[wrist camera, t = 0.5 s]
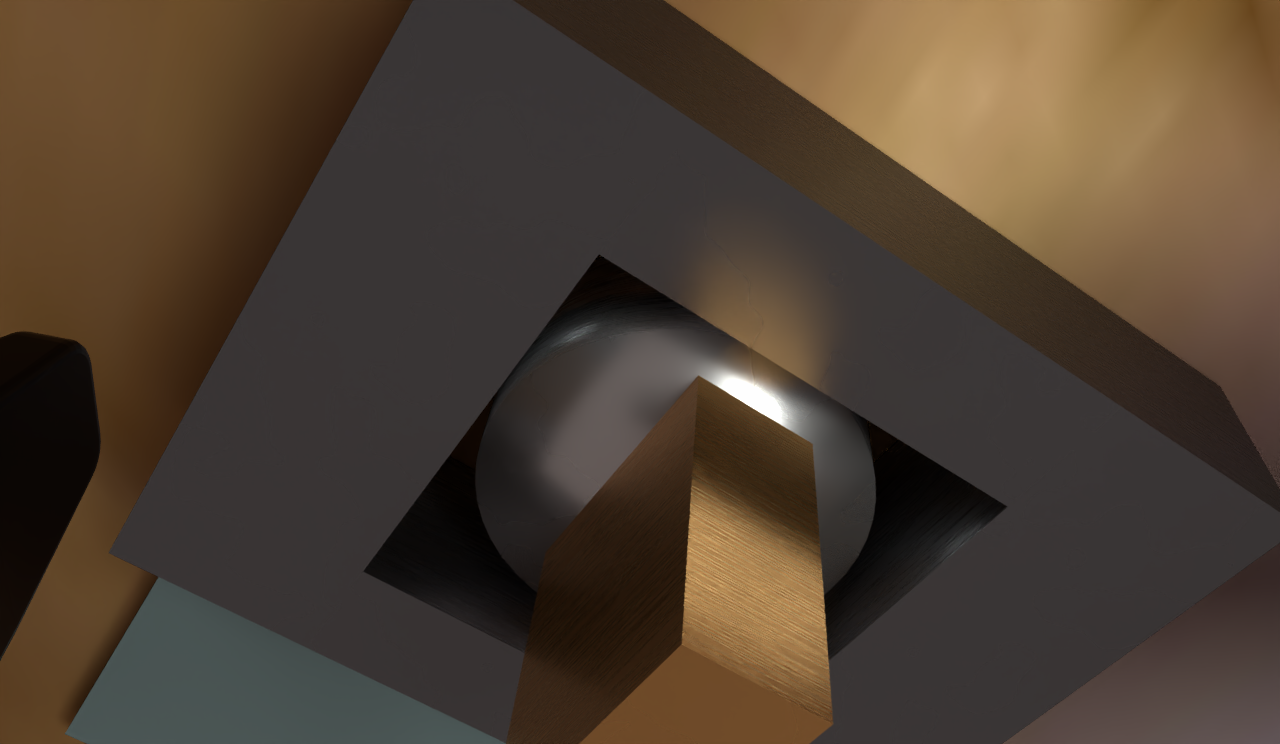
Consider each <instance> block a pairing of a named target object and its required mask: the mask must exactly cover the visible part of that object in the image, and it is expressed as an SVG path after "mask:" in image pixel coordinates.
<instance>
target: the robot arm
mask: <svg viewBox="0 0 1280 744" xmlns="http://www.w3.org/2000/svg"><path fill="white" fill-rule="evenodd" d="M100 443H101V440H100V429H99V421H98V413H97V405H96V398H95V390H94V382H93V374H92V366H91V362H90V358H89V355H88V353H87V351H86V349H85V348H84V347H83V346H82V345H81V344H80V343H78V342H77V341H75V340H71V339H65V338H60V337H55V336H49V335H44V334H39V333H33V332H15V333H12V334H9V335H6V336H4V337H1V338H0V660H1V658H2V657H3V655H4V653H5V651H6V649H7V647H8V645H9V643H10V641H11V640H12V638H13V636H14V634H15V632H16V630H17V628H18V626H19V624H20V622H21V620H22V618H23V616H24V614H25V612H26V610H27V608H28V606H29V604H30V602H31V600H32V598H33V596H34V594H35V592H36V590H37V588H38V586H39V584H40V582H41V579H42V577H43V575H44V573H45V571H46V569H47V567H48V565H49V563H50V561H51V559H52V557H53V555H54V553H55V551H56V549H57V547H58V545H59V543H60V541H61V539H62V537H63V535H64V533H65V531H66V529H67V527H68V525H69V523H70V521H71V519H72V517H73V514H74V512H75V510H76V508H77V506H78V504H79V502H80V500H81V498H82V496H83V494H84V492H85V490H86V488H87V486H88V484H89V482H90V480H91V478H92V476H93V473H94V471H95V469H96V465H97V462H98V458H99V453H100Z"/></svg>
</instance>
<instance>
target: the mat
mask: <svg viewBox="0 0 1280 744" xmlns="http://www.w3.org/2000/svg"><path fill="white" fill-rule="evenodd" d="M65 734H66V735H68V736H71V737H73V738H75V739H78V740H80V741H82V742H85V743H87V744H506V743H504V742H502V741H500V740H498V739H496V738H494V737H492V736H490V735H488V734H486V733H483V732H481V731H479V730H477V729H475V728H473V727H471V726H469V725H467V724H465V723H463V722H460V721H458V720H456V719H454V718H452V717H450V716H448V715H446V714H444V713H442V712H440V711H438V710H435V709H433V708H431V707H429V706H427V705H425V704H423V703H421V702H419V701H417V700H415V699H412V698H410V697H408V696H406V695H404V694H402V693H400V692H398V691H396V690H394V689H392V688H390V687H387V686H385V685H383V684H381V683H379V682H377V681H375V680H373V679H371V678H369V677H367V676H364V675H362V674H360V673H358V672H356V671H354V670H352V669H350V668H348V667H346V666H344V665H342V664H339V663H337V662H335V661H333V660H331V659H329V658H327V657H325V656H323V655H321V654H319V653H316V652H314V651H312V650H310V649H308V648H306V647H304V646H302V645H300V644H298V643H296V642H293V641H291V640H289V639H287V638H285V637H283V636H281V635H279V634H277V633H275V632H273V631H271V630H268V629H266V628H264V627H262V626H260V625H258V624H256V623H254V622H252V621H250V620H248V619H245V618H243V617H241V616H239V615H237V614H235V613H233V612H231V611H229V610H227V609H225V608H223V607H220V606H218V605H216V604H214V603H212V602H210V601H208V600H206V599H204V598H202V597H200V596H197V595H195V594H193V593H191V592H189V591H187V590H185V589H183V588H181V587H179V586H177V585H175V584H172V583H170V582H168V581H166V580H164V579H162V578H160V577H158V579H157V580H156V582H155V584H154V585H153V587H152V589H151V591H150V592H149V594H148V596H147V597H146V599H145V601H144V602H143V604H142V606H141V607H140V609H139V611H138V612H137V614H136V616H135V617H134V619H133V621H132V622H131V624H130V626H129V627H128V629H127V631H126V632H125V634H124V636H123V637H122V639H121V641H120V642H119V644H118V646H117V647H116V649H115V651H114V652H113V654H112V656H111V658H110V659H109V661H108V663H107V664H106V666H105V668H104V669H103V671H102V673H101V674H100V676H99V678H98V679H97V681H96V683H95V684H94V686H93V688H92V689H91V691H90V693H89V694H88V696H87V698H86V699H85V701H84V703H83V704H82V706H81V708H80V709H79V711H78V713H77V714H76V716H75V718H74V720H73V721H72V723H71V725H70V726H69V728H68V730H67V731H66V733H65Z"/></svg>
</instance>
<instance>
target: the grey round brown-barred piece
mask: <svg viewBox="0 0 1280 744" xmlns="http://www.w3.org/2000/svg"><path fill="white" fill-rule="evenodd" d="M475 485H476V495H477V502H478V506H479V510H480V513H481V517H482V521H483V523H484V525H485V527H486V530H487V532H488V534H489V536H490V539H491V540H492V542H493V544H494V545H495V547H496V548H497V550H498V552H499V553H500V555H501V556H502V558H503V559H504V560H505V561H506V562H507V564H508V565H509V566H510V567H511V568H512V570H513V571H514V572H515V573H516V574H517V575H518V576H519V577H520V578H521V579H522V580H523V581H524V582H525V583H526V584H527V585H529V586H530V587H531V588H532V589H533V590H534V591H536V592H537V596H536V601H535V605H534V610H533V615H532V620H531V625H530V630H529V634H528V639H527V644H526V649H525V654H524V659H523V663H522V668H521V673H520V678H519V683H518V688H517V692H516V697H515V702H514V707H513V712H512V716H511V721H510V726H509V731H508V736H507V741H506V744H810V743H811V742H812V741H813V740H815V739H816V738H817V737H818V736H819V735H821V734H822V733H823V732H824V731H826V730H827V729H828V728H829V727H830V726H832V725H833V715H832V702H831V688H830V674H829V661H828V647H827V633H826V620H825V606H824V595H825V594H826V593H827V592H828V591H830V590H831V589H832V588H833V587H834V586H835V585H836V584H837V583H838V582H839V581H840V579H841V578H842V577H843V576H844V575H845V574H846V573H847V572H848V570H849V569H850V567H851V566H852V565H853V563H854V562H855V560H856V559H857V558H858V556H859V554H860V552H861V550H862V548H863V546H864V544H865V542H866V540H867V538H868V534H869V531H870V528H871V525H872V522H873V517H874V510H875V503H876V484H875V473H874V466H873V459H872V451H871V444H870V437H869V430H868V423H867V420H866V419H865V418H863V417H862V416H860V415H858V414H857V413H855V412H854V411H852V410H850V409H849V408H847V407H845V406H844V405H842V404H841V403H839V402H837V401H836V400H834V399H832V398H831V397H829V396H828V395H826V394H824V393H823V392H821V391H819V390H818V389H816V388H815V387H813V386H811V385H810V384H808V383H807V382H805V381H803V380H802V379H800V378H798V377H797V376H795V375H794V374H792V373H790V372H789V371H787V370H785V369H784V368H782V367H781V366H779V365H777V364H776V363H774V362H772V361H771V360H769V359H768V358H766V357H764V356H763V355H761V354H760V353H758V352H756V351H755V350H753V349H751V348H750V347H748V346H747V345H745V344H743V343H742V342H740V341H738V340H737V339H735V338H734V337H732V336H730V335H729V334H727V333H725V332H724V331H722V330H721V329H719V328H717V327H716V326H714V325H713V324H711V323H709V322H708V321H706V320H704V319H703V318H701V317H700V316H698V315H696V314H695V313H693V312H691V311H690V310H688V309H687V308H685V307H683V306H682V305H680V304H678V303H677V302H675V301H674V300H672V299H670V298H669V297H667V296H665V295H664V294H662V293H661V292H659V291H657V290H656V289H654V288H653V287H651V286H649V285H648V284H646V283H644V282H643V281H641V280H640V279H638V278H636V277H635V276H633V275H631V274H630V273H628V272H627V271H625V270H623V269H622V268H620V267H618V266H617V265H615V264H614V263H612V262H610V261H609V260H607V259H606V258H603V259H600V260H597V261H595V262H593V263H592V264H591V265H590V267H589V268H588V270H587V271H586V272H585V274H584V275H583V276H582V278H581V279H580V280H579V282H578V283H577V284H576V286H575V287H574V288H573V290H572V291H571V292H570V294H569V295H568V296H567V298H566V299H565V300H564V302H563V303H562V304H561V306H560V307H559V309H558V310H557V311H556V313H555V314H554V315H553V317H552V318H551V319H550V321H549V322H548V323H547V325H546V326H545V327H544V329H543V330H542V331H541V333H540V334H539V335H538V337H537V338H536V339H535V341H534V342H533V344H532V345H531V346H530V348H529V349H528V350H527V352H526V353H525V354H524V356H523V357H522V358H521V360H520V361H519V362H518V364H517V365H516V366H515V368H514V369H513V370H512V372H511V373H510V374H509V376H508V377H507V378H506V380H505V381H504V383H503V384H502V385H501V387H500V388H499V389H498V391H497V392H496V394H495V397H494V401H493V404H492V407H491V410H490V414H489V417H488V420H487V423H486V427H485V430H484V433H483V436H482V440H481V443H480V448H479V452H478V456H477V460H476V474H475Z"/></svg>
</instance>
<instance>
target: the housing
mask: <svg viewBox="0 0 1280 744" xmlns="http://www.w3.org/2000/svg"><path fill="white" fill-rule="evenodd" d="M598 255H601V256H602V257H604V258H606V259H607V260H609V261H610V262H612V263H614V264H615V265H617V266H618V267H620V268H622V269H623V270H625V271H627V272H628V273H630V274H631V275H633V276H635V277H636V278H638V279H640V280H641V281H643V282H644V283H646V284H648V285H649V286H651V287H653V288H654V289H656V290H657V291H659V292H661V293H662V294H664V295H665V296H667V297H669V298H670V299H672V300H674V301H675V302H677V303H678V304H680V305H682V306H683V307H685V308H687V309H688V310H690V311H691V312H693V313H695V314H696V315H698V316H700V317H701V318H703V319H704V320H706V321H708V322H709V323H711V324H713V325H714V326H716V327H717V328H719V329H721V330H722V331H724V332H725V333H727V334H729V335H730V336H732V337H734V338H735V339H737V340H738V341H740V342H742V343H743V344H745V345H747V346H748V347H750V348H751V349H753V350H755V351H756V352H758V353H760V354H761V355H763V356H764V357H766V358H768V359H769V360H771V361H772V362H774V363H776V364H777V365H779V366H781V367H782V368H784V369H785V370H787V371H789V372H790V373H792V374H794V375H795V376H797V377H798V378H800V379H802V380H803V381H805V382H807V383H808V384H810V385H811V386H813V387H815V388H816V389H818V390H819V391H821V392H823V393H824V394H826V395H828V396H829V397H831V398H832V399H834V400H836V401H837V402H839V403H841V404H842V405H844V406H845V407H847V408H849V409H850V410H852V411H854V412H855V413H857V414H858V415H860V416H862V417H863V418H865V419H866V420H868V421H870V422H871V423H873V424H875V425H876V426H878V427H879V428H881V429H883V430H884V431H886V432H888V433H889V434H891V435H892V436H894V437H896V438H897V439H899V440H898V441H897V442H896V443H895V444H894V445H893V446H892V447H891V448H890V449H889V450H888V451H887V452H886V453H885V454H884V455H883V456H882V457H881V458H880V459H879V460H878V461H876V462H875V463H874V464H873V466H874V473H875V484H876V503H875V510H874V517H873V522H872V525H871V528H870V531H869V534H868V538H867V540H866V542H865V544H864V546H863V548H862V550H861V552H860V554H859V556H858V558H857V559H856V560H855V562H854V563H853V565H852V566H851V567H850V569H849V570H848V572H847V573H846V574H845V575H844V576H843V577H842V578H841V579H840V581H839V582H838V583H837V584H836V585H835V586H834V587H833V588H832V589H831V590H830V591H828V592H827V593H826V594H825V595H824V606H825V620H826V633H827V647H828V661H829V674H830V688H831V702H832V715H833V725H832V726H830V727H829V728H828V729H827V730H826V731H824V732H823V733H822V734H821V735H819V736H818V737H817V738H816V739H815V740H813V741H812V742H811V743H810V744H1002V743H1004V742H1005V741H1007V740H1008V739H1009V738H1011V737H1012V736H1013V735H1015V734H1016V733H1018V732H1019V731H1020V730H1022V729H1023V728H1025V727H1026V726H1027V725H1029V724H1030V723H1031V722H1033V721H1034V720H1036V719H1037V718H1038V717H1040V716H1041V715H1042V714H1044V713H1045V712H1047V711H1048V710H1049V709H1051V708H1052V707H1054V706H1055V705H1056V704H1058V703H1059V702H1060V701H1062V700H1063V699H1065V698H1066V697H1067V696H1069V695H1070V694H1071V693H1073V692H1074V691H1076V690H1077V689H1078V688H1080V687H1081V686H1083V685H1084V684H1085V683H1087V682H1088V681H1089V680H1091V679H1092V678H1094V677H1095V676H1096V675H1098V674H1099V673H1100V672H1102V671H1103V670H1105V669H1106V668H1107V667H1109V666H1110V665H1112V664H1113V663H1114V662H1116V661H1117V660H1118V659H1120V658H1121V657H1123V656H1124V655H1125V654H1127V653H1128V652H1129V651H1131V650H1132V649H1134V648H1135V647H1136V646H1138V645H1139V644H1141V643H1142V642H1143V641H1145V640H1146V639H1147V638H1149V637H1150V636H1152V635H1153V634H1154V633H1156V632H1157V631H1158V630H1160V629H1161V628H1163V627H1164V626H1165V625H1167V624H1168V623H1170V622H1171V621H1172V620H1174V619H1175V618H1176V617H1178V616H1179V615H1181V614H1182V613H1183V612H1185V611H1186V610H1187V609H1189V608H1190V607H1192V606H1193V605H1194V604H1196V603H1197V602H1199V601H1200V600H1201V599H1203V598H1204V597H1205V596H1207V595H1208V594H1210V593H1211V592H1212V591H1214V590H1215V589H1217V588H1218V587H1219V586H1221V585H1222V584H1223V583H1225V582H1226V581H1228V580H1229V579H1230V578H1232V577H1233V576H1234V575H1236V574H1237V573H1239V572H1240V571H1241V570H1243V569H1244V568H1246V567H1247V566H1248V565H1250V564H1251V563H1252V562H1254V561H1255V560H1257V559H1258V558H1259V557H1261V556H1262V555H1263V554H1265V553H1266V552H1268V551H1269V550H1270V549H1272V548H1273V547H1275V546H1276V545H1277V544H1279V543H1280V489H1279V487H1278V485H1277V484H1276V482H1275V480H1274V479H1273V477H1272V475H1271V473H1270V472H1269V470H1268V468H1267V466H1266V465H1265V463H1264V461H1263V460H1262V458H1261V456H1260V454H1259V453H1258V451H1257V449H1256V447H1255V446H1254V444H1253V442H1252V441H1251V439H1250V437H1249V435H1248V434H1247V432H1246V430H1245V429H1244V427H1243V425H1242V423H1241V422H1240V420H1239V418H1238V416H1237V415H1236V413H1235V411H1234V410H1233V408H1232V406H1231V404H1230V403H1229V401H1228V399H1227V397H1226V396H1225V394H1224V392H1223V391H1222V389H1221V387H1220V386H1218V385H1217V384H1215V383H1214V382H1213V381H1211V380H1210V379H1208V378H1207V377H1205V376H1204V375H1203V374H1201V373H1200V372H1198V371H1197V370H1195V369H1194V368H1192V367H1191V366H1190V365H1188V364H1187V363H1185V362H1184V361H1182V360H1181V359H1179V358H1178V357H1177V356H1175V355H1174V354H1172V353H1171V352H1169V351H1168V350H1167V349H1165V348H1164V347H1162V346H1161V345H1159V344H1158V343H1156V342H1155V341H1154V340H1152V339H1151V338H1149V337H1148V336H1146V335H1145V334H1143V333H1142V332H1141V331H1139V330H1138V329H1136V328H1135V327H1133V326H1132V325H1130V324H1129V323H1128V322H1126V321H1125V320H1123V319H1122V318H1120V317H1119V316H1118V315H1116V314H1115V313H1113V312H1112V311H1110V310H1109V309H1107V308H1106V307H1105V306H1103V305H1102V304H1100V303H1099V302H1097V301H1096V300H1094V299H1093V298H1092V297H1090V296H1089V295H1087V294H1086V293H1084V292H1083V291H1082V290H1080V289H1079V288H1077V287H1076V286H1074V285H1073V284H1071V283H1070V282H1069V281H1067V280H1066V279H1064V278H1063V277H1061V276H1060V275H1058V274H1057V273H1056V272H1054V271H1053V270H1051V269H1050V268H1048V267H1047V266H1046V265H1044V264H1043V263H1041V262H1040V261H1038V260H1037V259H1035V258H1034V257H1033V256H1031V255H1030V254H1028V253H1027V252H1025V251H1024V250H1022V249H1021V248H1020V247H1018V246H1017V245H1015V244H1014V243H1012V242H1011V241H1010V240H1008V239H1007V238H1005V237H1004V236H1002V235H1001V234H999V233H998V232H997V231H995V230H994V229H992V228H991V227H989V226H988V225H986V224H985V223H984V222H982V221H981V220H979V219H978V218H976V217H975V216H973V215H972V214H971V213H969V212H968V211H966V210H965V209H963V208H962V207H961V206H959V205H958V204H956V203H955V202H953V201H952V200H950V199H949V198H948V197H946V196H945V195H943V194H942V193H940V192H939V191H937V190H936V189H935V188H933V187H932V186H930V185H929V184H927V183H926V182H925V181H923V180H922V179H920V178H919V177H917V176H916V175H914V174H913V173H912V172H910V171H909V170H907V169H906V168H904V167H903V166H901V165H900V164H899V163H897V162H896V161H894V160H893V159H891V158H890V157H889V156H887V155H886V154H884V153H883V152H881V151H880V150H878V149H877V148H876V147H874V146H873V145H871V144H870V143H868V142H867V141H865V140H864V139H863V138H861V137H860V136H858V135H857V134H855V133H854V132H853V131H851V130H850V129H848V128H847V127H845V126H844V125H842V124H841V123H840V122H838V121H837V120H835V119H834V118H832V117H831V116H829V115H828V114H827V113H825V112H824V111H822V110H821V109H819V108H818V107H816V106H815V105H814V104H812V103H811V102H809V101H808V100H806V99H805V98H804V97H802V96H801V95H799V94H798V93H796V92H795V91H793V90H792V89H791V88H789V87H788V86H786V85H785V84H783V83H782V82H780V81H779V80H778V79H776V78H775V77H773V76H772V75H770V74H769V73H768V72H766V71H765V70H763V69H762V68H760V67H759V66H757V65H756V64H755V63H753V62H752V61H750V60H749V59H747V58H746V57H744V56H743V55H742V54H740V53H739V52H737V51H736V50H734V49H733V48H732V47H730V46H729V45H727V44H726V43H724V42H723V41H721V40H720V39H719V38H717V37H716V36H714V35H713V34H711V33H710V32H708V31H707V30H706V29H704V28H703V27H701V26H700V25H698V24H697V23H696V22H694V21H693V20H691V19H690V18H688V17H687V16H685V15H684V14H683V13H681V12H680V11H678V10H677V9H675V8H674V7H672V6H671V5H670V4H668V3H667V2H665V1H664V0H413V1H412V3H411V5H410V7H409V9H408V10H407V12H406V14H405V16H404V18H403V19H402V21H401V23H400V25H399V27H398V29H397V30H396V32H395V34H394V36H393V38H392V39H391V41H390V43H389V45H388V47H387V49H386V50H385V52H384V54H383V56H382V58H381V59H380V61H379V63H378V65H377V67H376V68H375V70H374V72H373V74H372V76H371V78H370V79H369V81H368V83H367V85H366V87H365V88H364V90H363V92H362V94H361V96H360V98H359V99H358V101H357V103H356V105H355V107H354V108H353V110H352V112H351V114H350V116H349V117H348V119H347V121H346V123H345V125H344V127H343V128H342V130H341V132H340V134H339V136H338V137H337V139H336V141H335V143H334V145H333V147H332V148H331V150H330V152H329V154H328V156H327V157H326V159H325V161H324V163H323V165H322V167H321V168H320V170H319V172H318V174H317V176H316V177H315V179H314V181H313V183H312V185H311V186H310V188H309V190H308V192H307V194H306V196H305V197H304V199H303V201H302V203H301V205H300V206H299V208H298V210H297V212H296V214H295V216H294V217H293V219H292V221H291V223H290V225H289V226H288V228H287V230H286V232H285V234H284V235H283V237H282V239H281V241H280V243H279V245H278V246H277V248H276V250H275V252H274V254H273V255H272V257H271V259H270V261H269V263H268V265H267V266H266V268H265V270H264V272H263V274H262V275H261V277H260V279H259V281H258V283H257V284H256V286H255V288H254V290H253V292H252V294H251V295H250V297H249V299H248V301H247V303H246V304H245V306H244V308H243V310H242V312H241V314H240V315H239V317H238V319H237V321H236V323H235V324H234V326H233V328H232V330H231V332H230V334H229V335H228V337H227V339H226V341H225V343H224V344H223V346H222V348H221V350H220V352H219V353H218V355H217V357H216V359H215V361H214V363H213V364H212V366H211V368H210V370H209V372H208V373H207V375H206V377H205V379H204V381H203V383H202V384H201V386H200V388H199V390H198V392H197V393H196V395H195V397H194V399H193V401H192V402H191V404H190V406H189V408H188V410H187V412H186V413H185V415H184V417H183V419H182V421H181V422H180V424H179V426H178V428H177V430H176V432H175V433H174V435H173V437H172V439H171V441H170V442H169V444H168V446H167V448H166V450H165V451H164V453H163V455H162V457H161V459H160V461H159V462H158V464H157V466H156V468H155V470H154V471H153V473H152V475H151V477H150V479H149V481H148V482H147V484H146V486H145V488H144V490H143V491H142V493H141V495H140V497H139V499H138V500H137V502H136V504H135V506H134V508H133V510H132V511H131V513H130V515H129V517H128V519H127V520H126V522H125V524H124V526H123V528H122V530H121V531H120V533H119V535H118V537H117V539H116V540H115V542H114V544H113V546H112V548H111V550H110V551H109V553H110V554H112V555H114V556H116V557H118V558H120V559H122V560H124V561H127V562H129V563H131V564H133V565H135V566H137V567H139V568H141V569H143V570H145V571H147V572H149V573H152V574H154V575H156V576H158V577H160V578H162V579H164V580H166V581H168V582H170V583H172V584H175V585H177V586H179V587H181V588H183V589H185V590H187V591H189V592H191V593H193V594H195V595H197V596H200V597H202V598H204V599H206V600H208V601H210V602H212V603H214V604H216V605H218V606H220V607H223V608H225V609H227V610H229V611H231V612H233V613H235V614H237V615H239V616H241V617H243V618H245V619H248V620H250V621H252V622H254V623H256V624H258V625H260V626H262V627H264V628H266V629H268V630H271V631H273V632H275V633H277V634H279V635H281V636H283V637H285V638H287V639H289V640H291V641H293V642H296V643H298V644H300V645H302V646H304V647H306V648H308V649H310V650H312V651H314V652H316V653H319V654H321V655H323V656H325V657H327V658H329V659H331V660H333V661H335V662H337V663H339V664H342V665H344V666H346V667H348V668H350V669H352V670H354V671H356V672H358V673H360V674H362V675H364V676H367V677H369V678H371V679H373V680H375V681H377V682H379V683H381V684H383V685H385V686H387V687H390V688H392V689H394V690H396V691H398V692H400V693H402V694H404V695H406V696H408V697H410V698H412V699H415V700H417V701H419V702H421V703H423V704H425V705H427V706H429V707H431V708H433V709H435V710H438V711H440V712H442V713H444V714H446V715H448V716H450V717H452V718H454V719H456V720H458V721H460V722H463V723H465V724H467V725H469V726H471V727H473V728H475V729H477V730H479V731H481V732H483V733H486V734H488V735H490V736H492V737H494V738H496V739H498V740H500V741H502V742H504V743H506V741H507V736H508V731H509V726H510V721H511V716H512V712H513V707H514V702H515V697H516V692H517V688H518V683H519V678H520V673H521V668H522V663H523V659H524V654H525V649H526V644H527V639H528V634H529V630H530V625H531V620H532V615H533V610H534V605H535V601H536V596H537V592H536V591H534V590H533V589H532V588H531V587H530V586H529V585H527V584H526V583H525V582H524V581H523V580H522V579H521V578H520V577H519V576H518V575H517V574H516V573H515V572H514V571H513V570H512V568H511V567H510V566H509V565H508V564H507V562H506V561H505V560H504V559H503V558H502V556H501V555H500V553H499V552H498V550H497V548H496V547H495V545H494V544H493V542H492V540H491V539H490V536H489V534H488V532H487V530H486V527H485V525H484V523H483V521H482V517H481V513H480V510H479V506H478V502H477V495H476V485H475V474H476V471H474V470H473V469H471V468H469V467H467V466H465V465H463V464H462V463H460V462H458V461H456V460H454V459H452V458H450V457H449V455H450V454H451V452H452V451H453V450H454V448H455V447H456V446H457V444H458V443H459V442H460V440H461V439H462V438H463V436H464V435H465V434H466V432H467V431H468V430H469V428H470V427H471V426H472V424H473V423H474V422H475V420H476V419H477V417H478V416H479V415H480V413H481V412H482V411H483V409H484V408H485V407H486V405H487V404H488V403H489V401H490V400H491V399H492V397H493V396H494V395H495V393H496V392H497V391H498V389H499V388H500V387H501V385H502V384H503V383H504V381H505V380H506V378H507V377H508V376H509V374H510V373H511V372H512V370H513V369H514V368H515V366H516V365H517V364H518V362H519V361H520V360H521V358H522V357H523V356H524V354H525V353H526V352H527V350H528V349H529V348H530V346H531V345H532V344H533V342H534V341H535V339H536V338H537V337H538V335H539V334H540V333H541V331H542V330H543V329H544V327H545V326H546V325H547V323H548V322H549V321H550V319H551V318H552V317H553V315H554V314H555V313H556V311H557V310H558V309H559V307H560V306H561V304H562V303H563V302H564V300H565V299H566V298H567V296H568V295H569V294H570V292H571V291H572V290H573V288H574V287H575V286H576V284H577V283H578V282H579V280H580V279H581V278H582V276H583V275H584V274H585V272H586V271H587V270H588V268H589V267H590V265H591V264H592V263H593V261H594V260H595V259H596V257H597V256H598Z"/></svg>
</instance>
